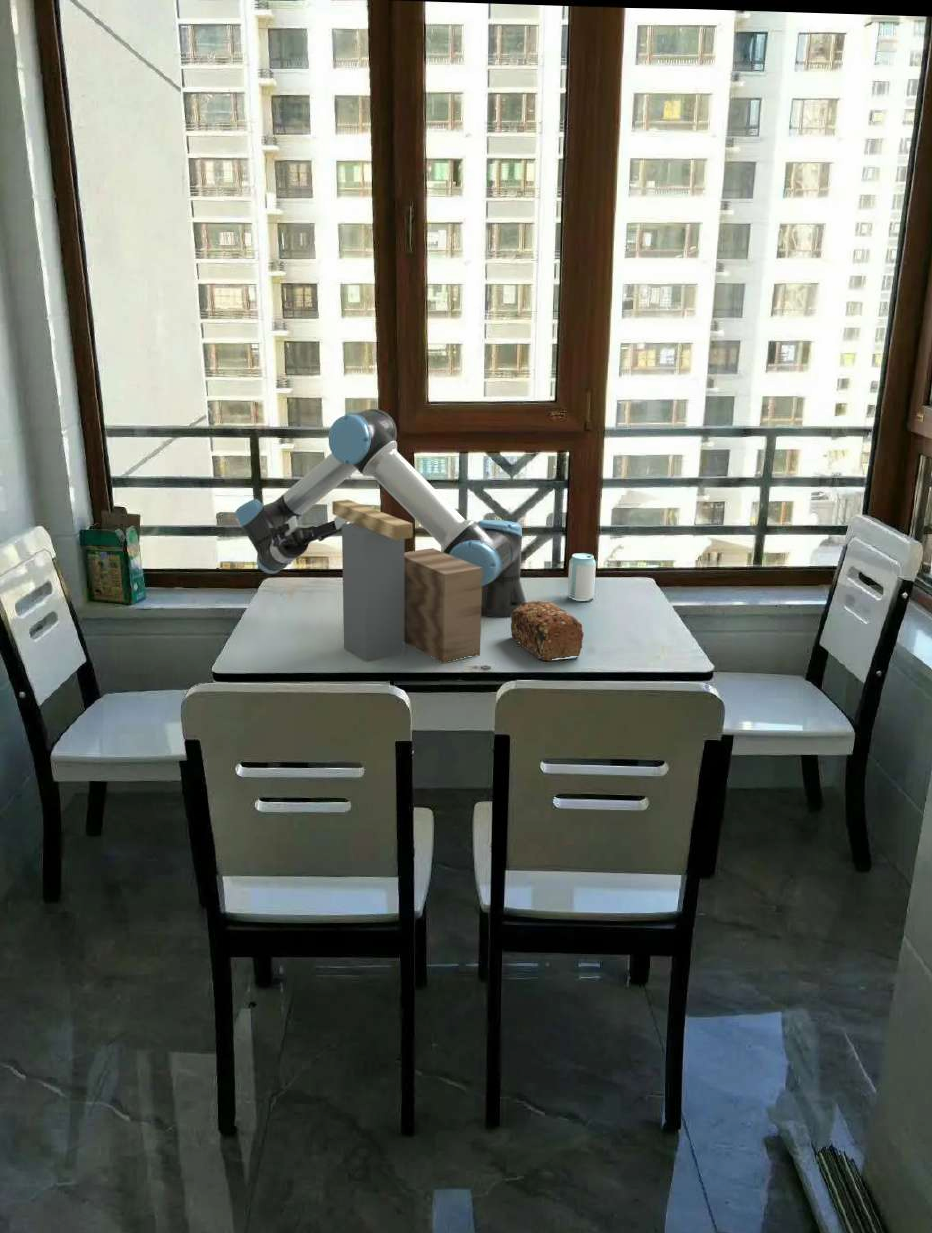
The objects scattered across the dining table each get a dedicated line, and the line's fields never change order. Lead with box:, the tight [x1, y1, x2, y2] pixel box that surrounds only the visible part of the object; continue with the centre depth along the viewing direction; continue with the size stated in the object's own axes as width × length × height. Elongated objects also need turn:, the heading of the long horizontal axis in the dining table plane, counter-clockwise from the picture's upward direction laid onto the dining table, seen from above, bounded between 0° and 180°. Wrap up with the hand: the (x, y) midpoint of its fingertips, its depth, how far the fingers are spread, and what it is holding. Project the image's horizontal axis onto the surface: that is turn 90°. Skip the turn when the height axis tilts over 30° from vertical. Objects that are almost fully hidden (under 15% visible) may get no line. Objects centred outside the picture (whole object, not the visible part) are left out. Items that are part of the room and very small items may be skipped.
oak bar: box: [331, 499, 414, 540], centre depth 218 cm, size 28×4×3 cm, turn 35°
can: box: [567, 552, 597, 599], centre depth 267 cm, size 7×7×12 cm
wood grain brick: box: [404, 547, 483, 664], centre depth 228 cm, size 20×10×20 cm, turn 35°
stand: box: [341, 522, 406, 662], centre depth 223 cm, size 10×10×29 cm
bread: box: [510, 600, 584, 661], centre depth 231 cm, size 19×11×10 cm, turn 20°
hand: (321, 518), depth 238 cm, fingers open, 13 cm apart
